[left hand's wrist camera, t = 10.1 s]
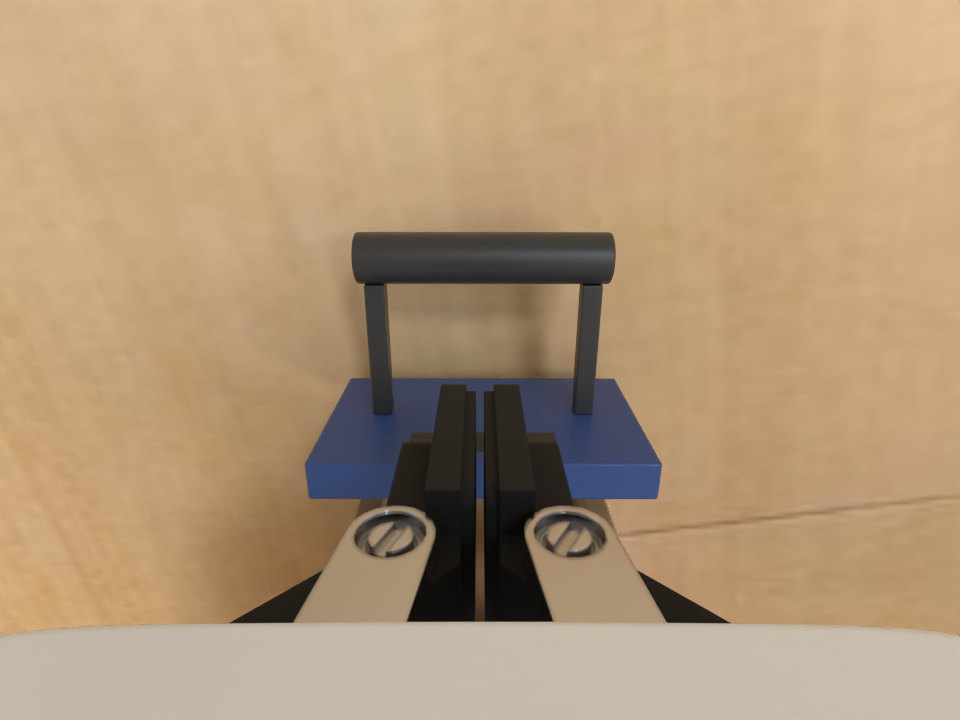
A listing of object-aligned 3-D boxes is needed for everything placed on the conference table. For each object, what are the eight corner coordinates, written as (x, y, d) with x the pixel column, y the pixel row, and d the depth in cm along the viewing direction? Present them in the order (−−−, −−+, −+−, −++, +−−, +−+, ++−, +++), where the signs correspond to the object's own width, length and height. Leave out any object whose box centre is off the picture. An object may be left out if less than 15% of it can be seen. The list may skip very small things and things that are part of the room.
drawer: (336, 219, 19) (276, 253, 14) (629, 220, 19) (692, 253, 14) (381, 722, 28) (356, 869, 23) (581, 722, 28) (607, 869, 23)
